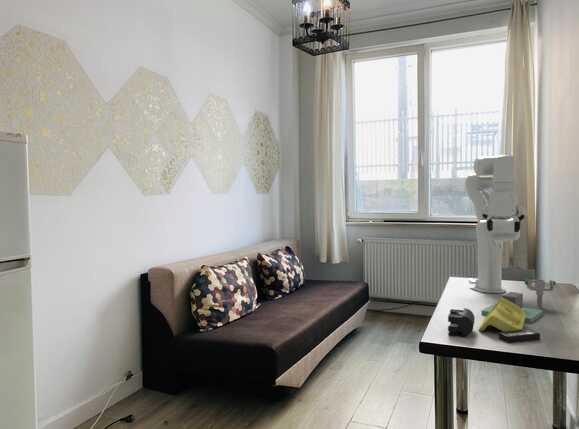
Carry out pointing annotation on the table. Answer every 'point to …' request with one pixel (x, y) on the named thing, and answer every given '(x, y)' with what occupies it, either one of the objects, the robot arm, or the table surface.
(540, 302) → the mechanical component
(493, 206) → the robot arm
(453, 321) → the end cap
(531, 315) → the board
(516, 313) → the plastic component
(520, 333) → the multiport hub
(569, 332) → the table surface
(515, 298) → the block
